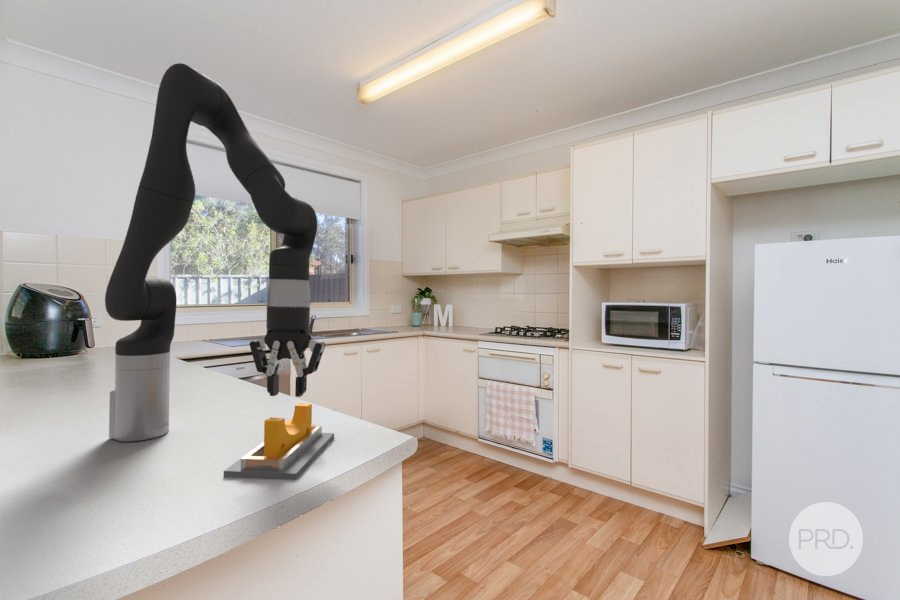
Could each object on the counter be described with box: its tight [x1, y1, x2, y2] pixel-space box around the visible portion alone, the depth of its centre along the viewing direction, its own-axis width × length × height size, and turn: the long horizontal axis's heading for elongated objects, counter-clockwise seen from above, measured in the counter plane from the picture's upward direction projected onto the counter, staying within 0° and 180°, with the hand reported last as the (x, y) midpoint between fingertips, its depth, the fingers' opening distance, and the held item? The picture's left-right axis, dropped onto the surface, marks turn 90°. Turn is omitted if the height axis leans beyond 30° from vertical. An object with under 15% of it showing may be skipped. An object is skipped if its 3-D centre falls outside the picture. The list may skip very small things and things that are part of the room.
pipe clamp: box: [263, 402, 313, 457], centre depth 77 cm, size 12×4×6 cm, turn 171°
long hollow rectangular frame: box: [240, 424, 323, 471], centre depth 77 cm, size 7×18×2 cm, turn 178°
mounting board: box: [223, 432, 335, 481], centre depth 77 cm, size 12×20×1 cm, turn 178°
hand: (286, 395), depth 77 cm, fingers open, 4 cm apart
